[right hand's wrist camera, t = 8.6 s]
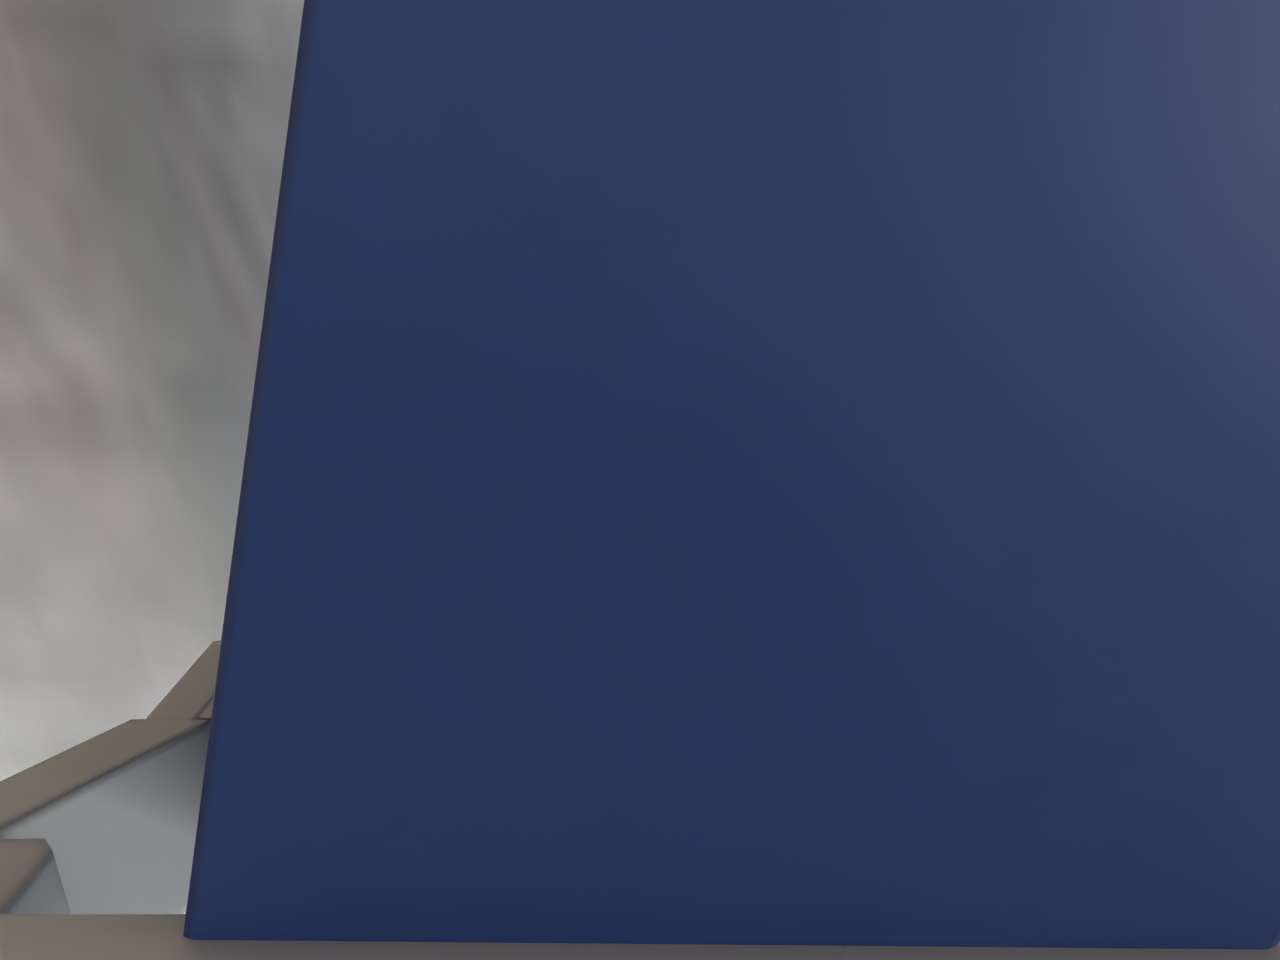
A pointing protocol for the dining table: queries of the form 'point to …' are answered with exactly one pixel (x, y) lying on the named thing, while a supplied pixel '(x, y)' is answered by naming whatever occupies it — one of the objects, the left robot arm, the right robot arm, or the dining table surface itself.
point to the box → (761, 481)
